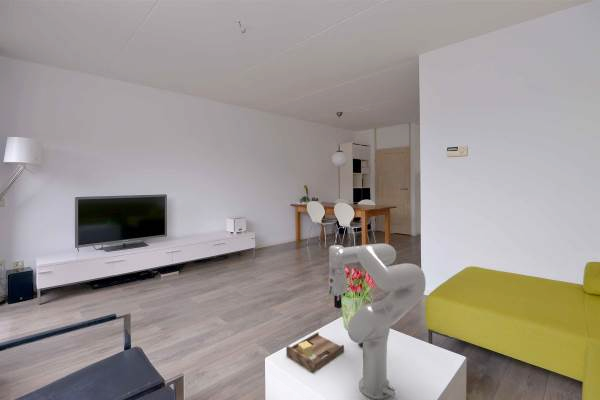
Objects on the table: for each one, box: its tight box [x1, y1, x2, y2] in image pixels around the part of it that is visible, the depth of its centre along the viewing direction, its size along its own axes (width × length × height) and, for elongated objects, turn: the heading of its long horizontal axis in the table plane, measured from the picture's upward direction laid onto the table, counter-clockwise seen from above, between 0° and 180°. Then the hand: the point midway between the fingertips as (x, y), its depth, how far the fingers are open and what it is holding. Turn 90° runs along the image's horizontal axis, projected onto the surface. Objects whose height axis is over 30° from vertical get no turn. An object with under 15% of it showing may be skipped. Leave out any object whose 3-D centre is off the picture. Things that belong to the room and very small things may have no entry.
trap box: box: [285, 331, 345, 374], centre depth 140 cm, size 18×23×5 cm
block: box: [297, 341, 312, 357], centre depth 136 cm, size 5×5×5 cm
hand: (338, 307), depth 138 cm, fingers closed
